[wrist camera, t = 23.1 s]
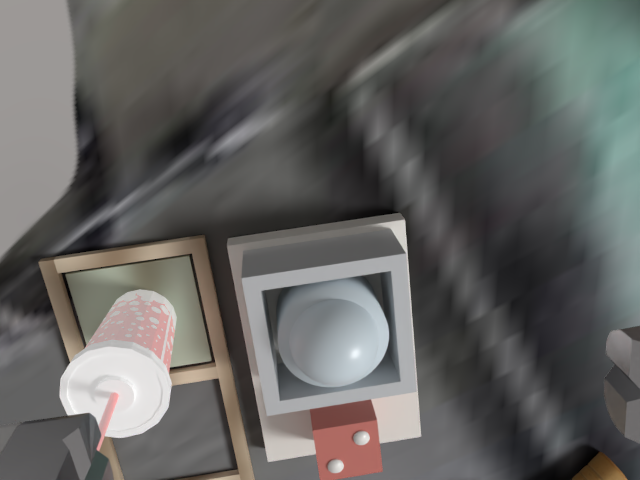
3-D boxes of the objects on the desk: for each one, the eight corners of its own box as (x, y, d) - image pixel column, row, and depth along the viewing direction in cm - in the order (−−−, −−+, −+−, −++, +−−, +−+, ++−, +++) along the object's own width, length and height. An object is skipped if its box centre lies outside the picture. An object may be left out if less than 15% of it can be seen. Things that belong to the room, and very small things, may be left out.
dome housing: (399, 212, 42) (422, 243, 36) (416, 424, 48) (437, 478, 43) (227, 238, 41) (223, 273, 36) (267, 448, 48) (269, 506, 42)
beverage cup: (81, 300, 41) (0, 431, 28) (162, 265, 41) (117, 382, 28) (126, 368, 44) (70, 520, 31) (202, 336, 43) (178, 475, 30)
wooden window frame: (204, 234, 41) (203, 237, 40) (272, 567, 52) (272, 573, 51) (41, 258, 40) (38, 262, 40) (145, 589, 51) (143, 595, 51)
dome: (372, 256, 40) (394, 301, 34) (381, 346, 43) (402, 403, 36) (269, 271, 40) (270, 320, 34) (284, 361, 42) (288, 422, 36)
